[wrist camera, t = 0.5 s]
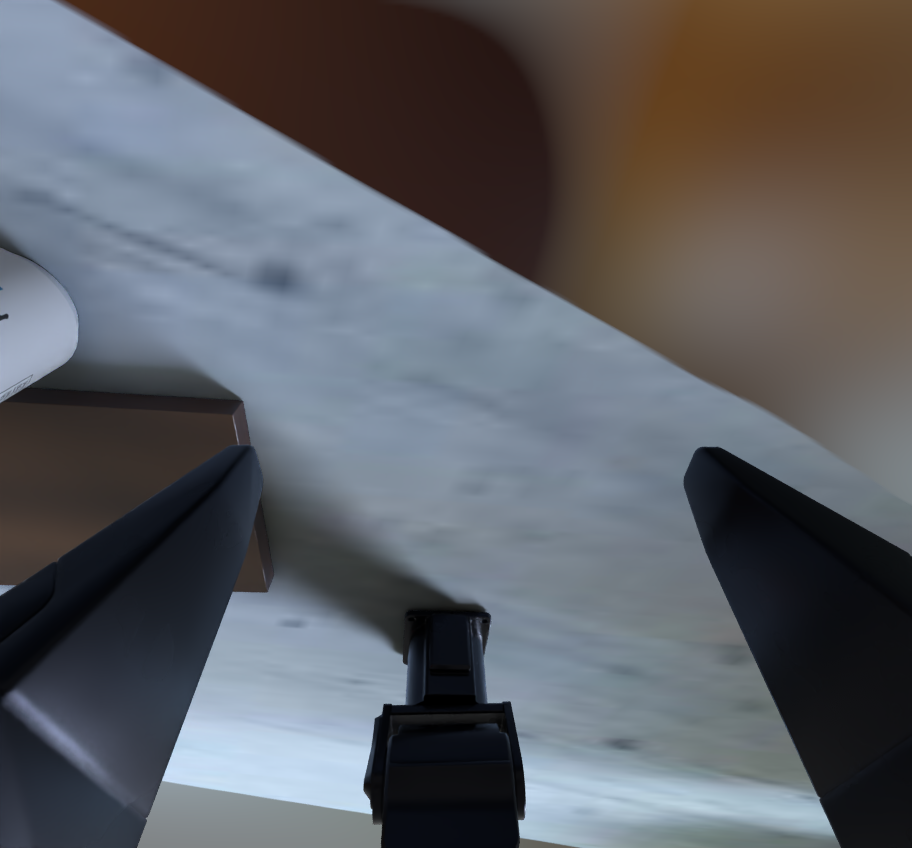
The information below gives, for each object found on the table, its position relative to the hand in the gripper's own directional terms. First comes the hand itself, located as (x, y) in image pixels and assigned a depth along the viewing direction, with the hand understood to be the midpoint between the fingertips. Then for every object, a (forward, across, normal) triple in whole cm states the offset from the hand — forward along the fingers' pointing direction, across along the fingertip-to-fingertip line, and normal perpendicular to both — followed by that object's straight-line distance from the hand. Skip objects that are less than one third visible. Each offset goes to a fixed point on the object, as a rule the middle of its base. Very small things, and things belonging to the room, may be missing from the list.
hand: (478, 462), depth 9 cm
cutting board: (+14, +22, +14) cm, 29 cm away
